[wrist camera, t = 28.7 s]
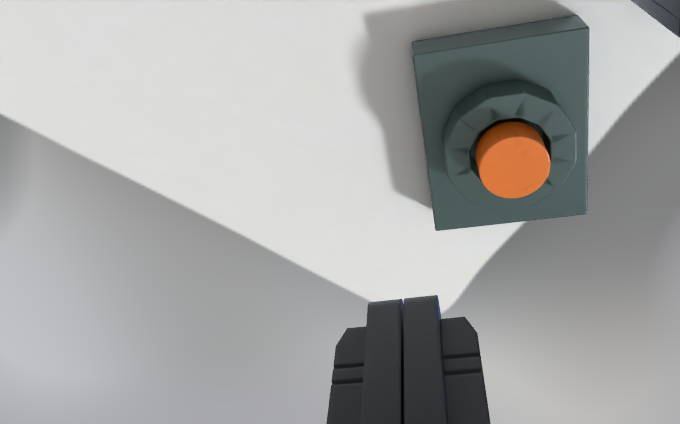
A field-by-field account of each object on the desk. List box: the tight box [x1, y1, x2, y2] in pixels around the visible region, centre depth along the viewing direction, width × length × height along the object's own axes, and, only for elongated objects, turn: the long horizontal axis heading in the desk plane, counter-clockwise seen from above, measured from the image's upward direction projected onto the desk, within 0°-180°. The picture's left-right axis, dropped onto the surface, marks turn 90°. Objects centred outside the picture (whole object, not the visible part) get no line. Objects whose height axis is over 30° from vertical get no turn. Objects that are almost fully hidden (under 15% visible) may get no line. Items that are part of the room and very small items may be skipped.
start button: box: [476, 122, 551, 198], centre depth 30 cm, size 3×3×2 cm
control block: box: [412, 15, 589, 231], centre depth 32 cm, size 10×8×4 cm
